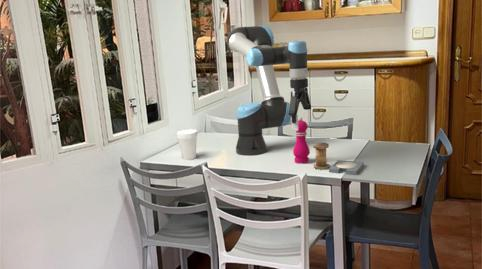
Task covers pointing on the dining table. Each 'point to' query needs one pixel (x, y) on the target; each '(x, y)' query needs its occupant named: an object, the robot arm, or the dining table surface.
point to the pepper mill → (301, 143)
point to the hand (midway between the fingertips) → (300, 127)
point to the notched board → (346, 167)
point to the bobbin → (321, 156)
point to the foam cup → (187, 143)
